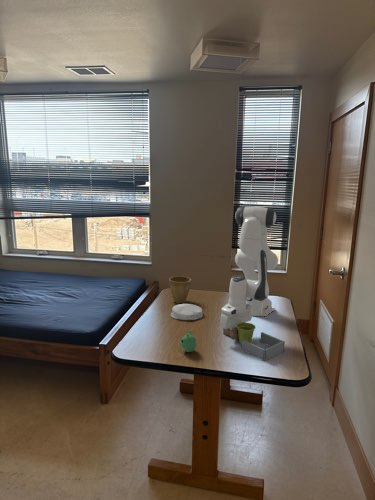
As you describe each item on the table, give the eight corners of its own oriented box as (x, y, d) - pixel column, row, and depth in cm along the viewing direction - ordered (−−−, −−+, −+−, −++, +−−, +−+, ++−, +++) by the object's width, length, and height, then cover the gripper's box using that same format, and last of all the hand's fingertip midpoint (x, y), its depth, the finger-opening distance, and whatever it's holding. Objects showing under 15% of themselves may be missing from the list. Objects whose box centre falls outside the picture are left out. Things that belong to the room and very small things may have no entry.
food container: (181, 307, 222) (181, 297, 221) (208, 313, 212) (208, 302, 211) (164, 317, 205) (163, 307, 204) (192, 324, 195) (192, 313, 194)
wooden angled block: (232, 330, 186) (231, 321, 186) (246, 334, 178) (246, 325, 178) (219, 335, 180) (218, 326, 180) (233, 339, 172) (232, 330, 172)
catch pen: (261, 341, 174) (262, 332, 173) (284, 351, 164) (284, 341, 163) (242, 349, 165) (242, 340, 164) (264, 361, 155) (265, 350, 154)
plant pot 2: (250, 348, 167) (251, 331, 165) (232, 343, 171) (233, 327, 170) (257, 340, 175) (258, 325, 173) (240, 336, 179) (240, 321, 178)
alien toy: (182, 346, 167) (183, 327, 165) (197, 349, 165) (198, 329, 163) (178, 353, 161) (178, 333, 159) (193, 356, 158) (194, 335, 156)
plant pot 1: (182, 307, 221) (183, 283, 218) (164, 302, 229) (164, 279, 226) (195, 300, 233) (195, 278, 230) (177, 296, 241) (177, 275, 238)
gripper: (246, 301, 183) (244, 325, 186) (218, 309, 171) (217, 335, 173) (255, 304, 179) (253, 329, 181) (227, 313, 166) (226, 339, 169)
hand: (236, 332), depth 177 cm, fingers closed on wooden angled block, 3 cm apart
